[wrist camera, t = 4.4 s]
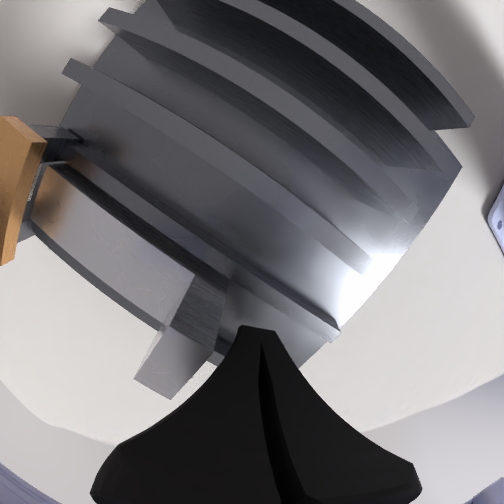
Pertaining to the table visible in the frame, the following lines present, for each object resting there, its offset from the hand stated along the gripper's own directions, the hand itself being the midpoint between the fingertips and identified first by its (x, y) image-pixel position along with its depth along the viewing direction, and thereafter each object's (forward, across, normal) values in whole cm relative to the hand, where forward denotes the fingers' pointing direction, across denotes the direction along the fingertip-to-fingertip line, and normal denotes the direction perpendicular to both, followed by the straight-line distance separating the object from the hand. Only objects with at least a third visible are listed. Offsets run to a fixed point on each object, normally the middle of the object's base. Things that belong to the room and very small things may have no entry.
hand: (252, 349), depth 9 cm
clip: (+2, +6, -2) cm, 6 cm away
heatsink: (+3, +2, -5) cm, 7 cm away
